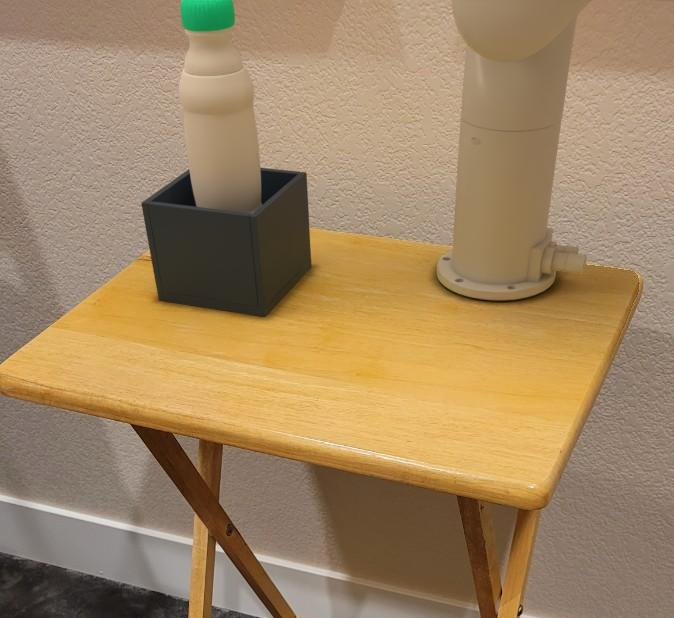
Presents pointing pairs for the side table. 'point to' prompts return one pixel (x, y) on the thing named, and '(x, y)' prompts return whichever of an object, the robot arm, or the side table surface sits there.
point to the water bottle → (218, 111)
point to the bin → (230, 245)
